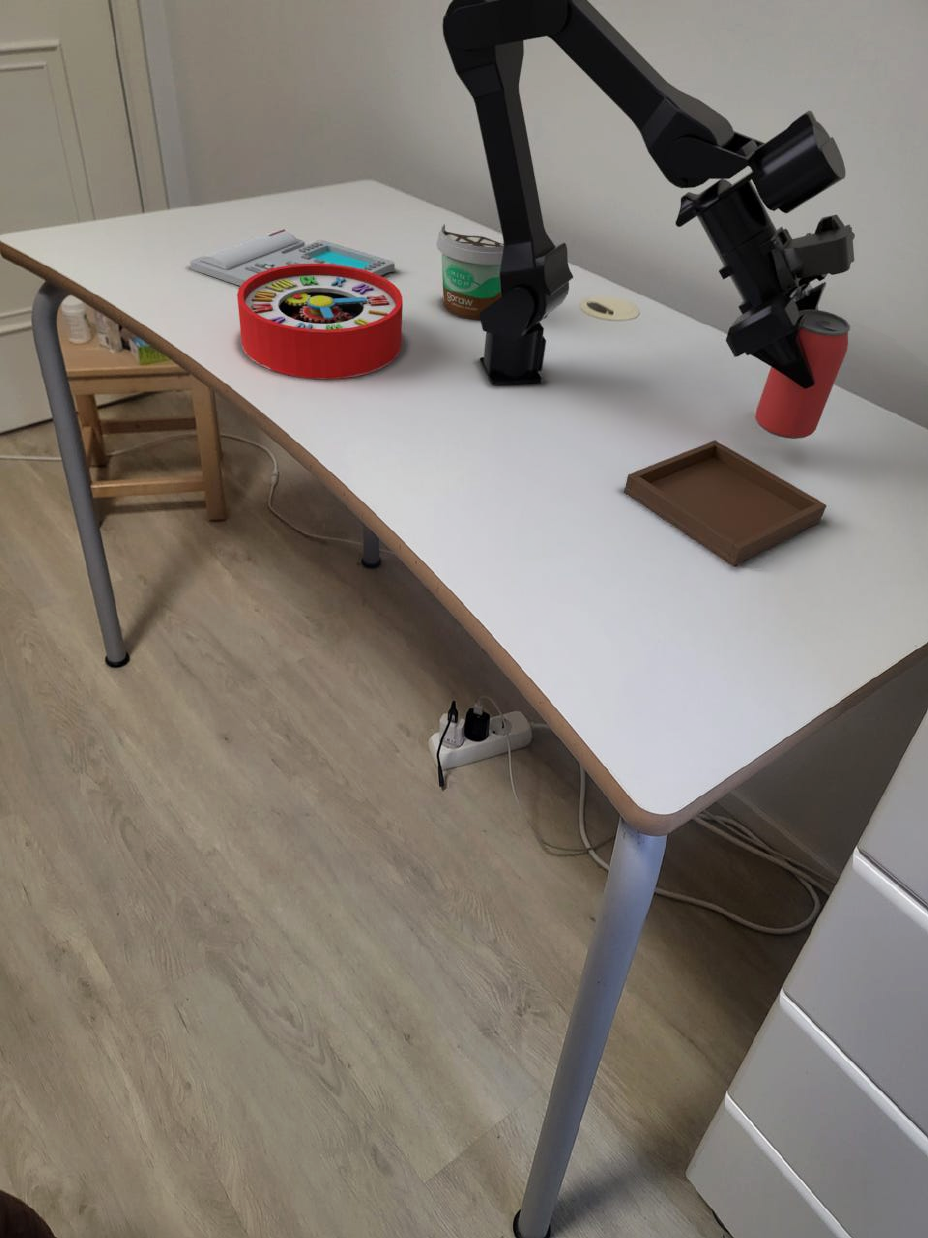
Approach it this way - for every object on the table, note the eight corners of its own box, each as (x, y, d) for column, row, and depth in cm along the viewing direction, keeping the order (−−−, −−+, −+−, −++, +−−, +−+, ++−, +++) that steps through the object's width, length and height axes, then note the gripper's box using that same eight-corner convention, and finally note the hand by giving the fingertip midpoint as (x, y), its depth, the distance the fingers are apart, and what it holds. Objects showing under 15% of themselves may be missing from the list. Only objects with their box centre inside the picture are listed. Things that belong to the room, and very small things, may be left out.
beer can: (781, 446, 93) (821, 338, 85) (740, 416, 98) (775, 310, 90) (826, 435, 96) (869, 329, 88) (784, 407, 100) (822, 303, 92)
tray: (623, 491, 91) (627, 474, 90) (710, 456, 98) (715, 439, 96) (733, 566, 83) (740, 548, 81) (819, 522, 89) (827, 504, 88)
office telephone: (186, 251, 125) (281, 218, 138) (189, 270, 127) (282, 235, 140) (314, 294, 116) (402, 254, 129) (315, 313, 118) (402, 272, 131)
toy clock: (225, 267, 111) (378, 259, 117) (230, 312, 115) (377, 302, 121) (252, 338, 98) (423, 324, 104) (256, 386, 102) (421, 370, 108)
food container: (419, 311, 121) (422, 235, 115) (436, 296, 126) (440, 222, 119) (502, 331, 118) (510, 255, 112) (517, 315, 123) (526, 241, 116)
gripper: (801, 216, 76) (881, 371, 80) (840, 170, 89) (907, 306, 93) (691, 283, 84) (768, 422, 88) (741, 232, 96) (807, 356, 100)
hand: (816, 374), depth 92 cm, fingers closed on beer can, 6 cm apart
